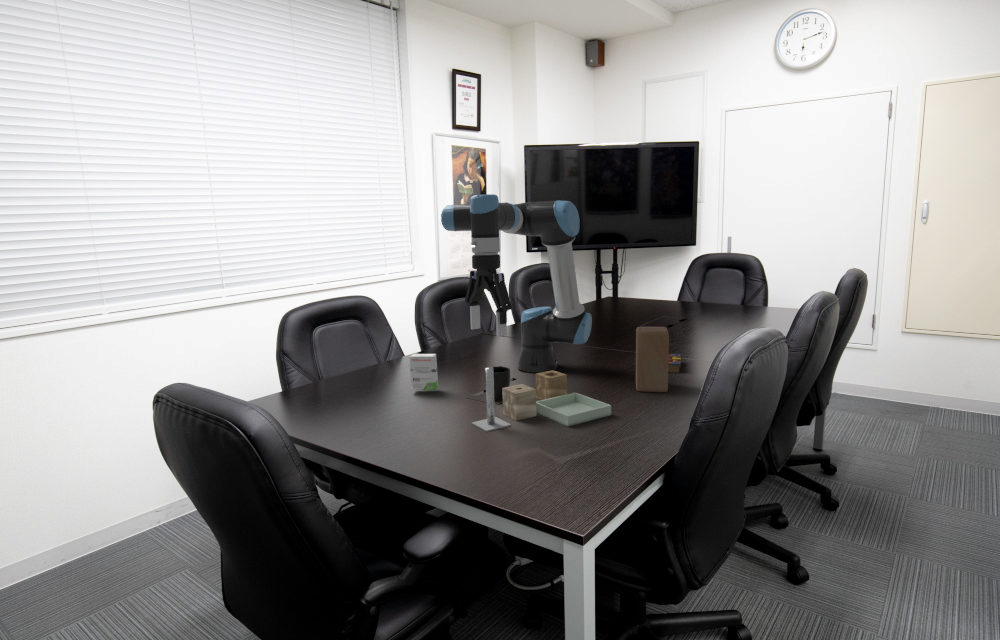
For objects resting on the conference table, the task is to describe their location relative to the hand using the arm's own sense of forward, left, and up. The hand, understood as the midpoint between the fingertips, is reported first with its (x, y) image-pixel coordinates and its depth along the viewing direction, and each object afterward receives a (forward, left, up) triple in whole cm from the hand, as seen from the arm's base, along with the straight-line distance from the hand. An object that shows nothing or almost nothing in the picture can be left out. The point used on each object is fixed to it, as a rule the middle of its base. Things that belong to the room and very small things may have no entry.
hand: (488, 332), depth 162 cm
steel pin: (0, 0, -26) cm, 26 cm away
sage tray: (+6, +24, -26) cm, 36 cm away
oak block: (-9, +28, -26) cm, 39 cm away
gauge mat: (0, 0, -26) cm, 26 cm away
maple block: (-2, +11, -26) cm, 29 cm away
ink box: (-45, +1, -27) cm, 52 cm away
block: (+2, +61, -27) cm, 67 cm away
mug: (-21, +16, -27) cm, 38 cm away
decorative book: (-13, +84, -27) cm, 89 cm away
